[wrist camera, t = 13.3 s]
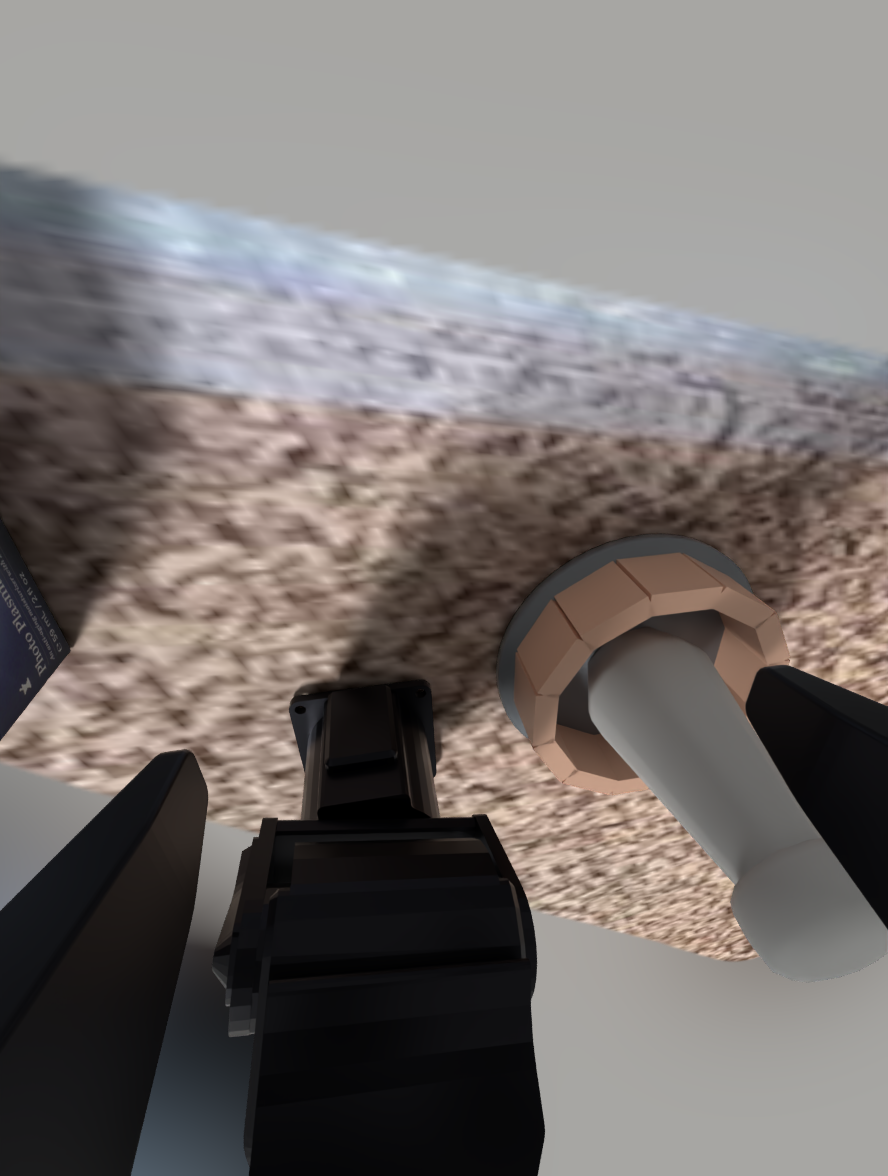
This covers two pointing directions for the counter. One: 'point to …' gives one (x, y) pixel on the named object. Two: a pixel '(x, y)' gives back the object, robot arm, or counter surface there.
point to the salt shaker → (732, 804)
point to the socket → (608, 609)
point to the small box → (23, 636)
